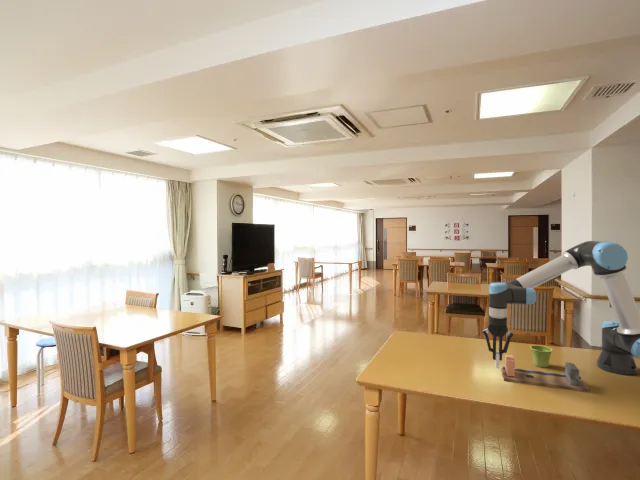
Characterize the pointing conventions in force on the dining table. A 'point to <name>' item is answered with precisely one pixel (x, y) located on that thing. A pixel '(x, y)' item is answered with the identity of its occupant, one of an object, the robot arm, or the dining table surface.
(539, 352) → the plant pot
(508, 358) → the sliding point
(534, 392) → the dining table surface
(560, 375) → the board
